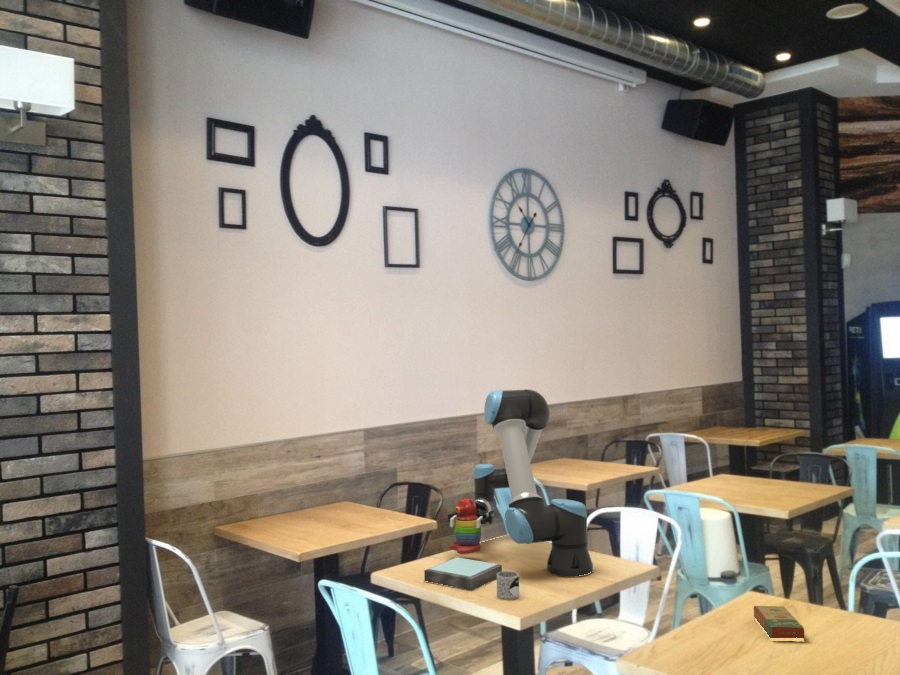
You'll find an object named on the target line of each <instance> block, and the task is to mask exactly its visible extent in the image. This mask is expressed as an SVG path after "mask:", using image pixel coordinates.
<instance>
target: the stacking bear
mask: <svg viewBox="0 0 900 675" xmlns="http://www.w3.org/2000/svg"><path fill="white" fill-rule="evenodd" d="M474 501H475V500H473V499H471V498H466V497H462V498H461V499H460V500H458V503H457V504H456V505H455V512H456V511H457V513H458V514H459V515H458V516H457V519H456V523H455V525H454V530H453V531H454V538H455V542H453V543H451V544H450V545H449V549H450V550H452V551H457V552H456V553H457V554H459V555H468V554H473V553H477V552H480V551H481V550H482V545H481V544H480V543H481V537H482V525H481V526H480V527H479V528H477V519H478V517H477V516H476V515H475V512H476V504H475V502H474Z"/></svg>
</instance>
